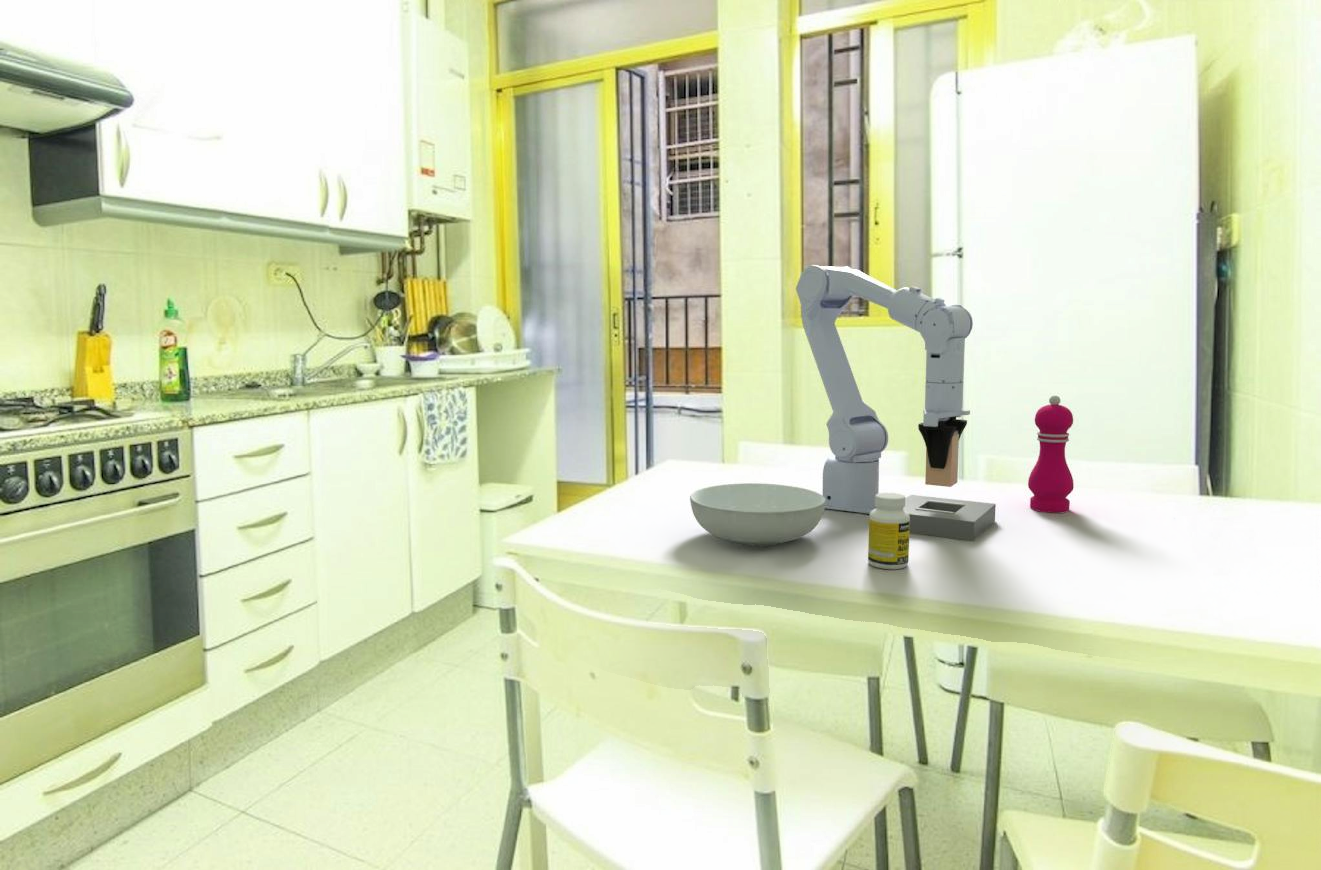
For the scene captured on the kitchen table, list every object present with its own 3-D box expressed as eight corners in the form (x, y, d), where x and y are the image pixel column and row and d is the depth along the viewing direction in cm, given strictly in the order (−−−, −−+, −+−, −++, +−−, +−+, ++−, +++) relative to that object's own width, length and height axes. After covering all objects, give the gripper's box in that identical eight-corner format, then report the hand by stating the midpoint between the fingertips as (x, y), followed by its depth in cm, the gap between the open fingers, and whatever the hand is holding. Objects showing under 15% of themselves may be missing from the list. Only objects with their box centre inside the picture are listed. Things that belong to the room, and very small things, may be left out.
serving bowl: (812, 563, 114) (813, 515, 113) (672, 550, 121) (671, 505, 120) (834, 527, 133) (834, 486, 132) (712, 518, 141) (711, 479, 140)
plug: (925, 484, 131) (926, 431, 130) (932, 480, 135) (934, 428, 133) (950, 486, 129) (952, 433, 128) (957, 482, 132) (959, 430, 131)
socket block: (883, 529, 131) (883, 509, 131) (910, 511, 142) (911, 493, 142) (973, 541, 123) (974, 520, 123) (994, 521, 135) (995, 502, 134)
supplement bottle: (902, 572, 109) (904, 501, 107) (862, 566, 112) (864, 497, 110) (913, 562, 113) (915, 493, 112) (874, 556, 116) (876, 489, 115)
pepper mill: (1027, 511, 141) (1032, 397, 138) (1026, 503, 147) (1031, 393, 144) (1074, 515, 138) (1080, 397, 135) (1070, 505, 144) (1076, 394, 142)
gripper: (957, 386, 121) (954, 475, 123) (981, 379, 133) (978, 460, 135) (910, 384, 125) (908, 471, 127) (938, 378, 137) (935, 457, 139)
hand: (941, 465), depth 131 cm, fingers closed on plug, 4 cm apart
